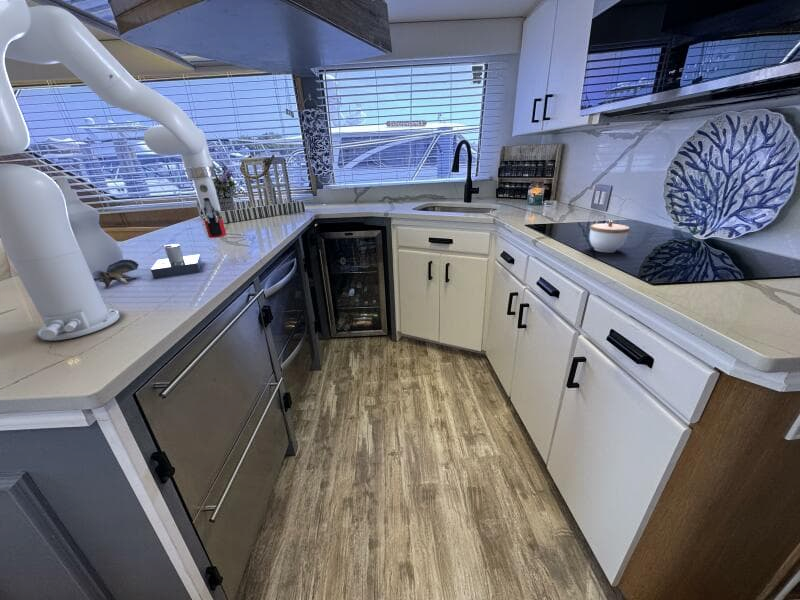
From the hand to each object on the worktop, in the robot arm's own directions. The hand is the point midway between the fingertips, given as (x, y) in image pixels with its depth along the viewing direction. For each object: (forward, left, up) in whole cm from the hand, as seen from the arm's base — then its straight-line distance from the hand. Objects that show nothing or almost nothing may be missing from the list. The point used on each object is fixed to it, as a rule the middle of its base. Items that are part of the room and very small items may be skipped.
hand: (216, 233), depth 104 cm
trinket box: (-58, -113, -11) cm, 127 cm away
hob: (0, +13, -10) cm, 17 cm away
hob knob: (0, +13, -7) cm, 15 cm away
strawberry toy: (0, 0, -1) cm, 1 cm away
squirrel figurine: (-5, +27, -11) cm, 30 cm away
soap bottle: (+9, +35, -11) cm, 38 cm away
